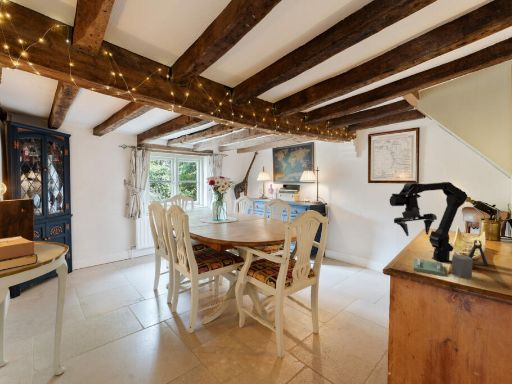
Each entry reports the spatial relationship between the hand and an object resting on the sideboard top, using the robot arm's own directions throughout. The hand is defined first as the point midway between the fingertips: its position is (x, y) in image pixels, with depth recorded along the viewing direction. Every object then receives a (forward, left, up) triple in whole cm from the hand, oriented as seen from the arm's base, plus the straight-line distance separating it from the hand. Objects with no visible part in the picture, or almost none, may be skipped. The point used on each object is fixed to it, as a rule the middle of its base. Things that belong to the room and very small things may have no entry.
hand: (417, 235), depth 128 cm
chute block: (-11, +15, -15) cm, 24 cm away
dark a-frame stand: (-33, -1, -16) cm, 37 cm away
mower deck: (-2, +6, -15) cm, 16 cm away
